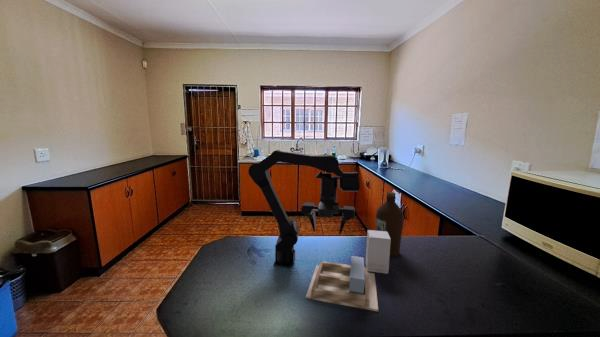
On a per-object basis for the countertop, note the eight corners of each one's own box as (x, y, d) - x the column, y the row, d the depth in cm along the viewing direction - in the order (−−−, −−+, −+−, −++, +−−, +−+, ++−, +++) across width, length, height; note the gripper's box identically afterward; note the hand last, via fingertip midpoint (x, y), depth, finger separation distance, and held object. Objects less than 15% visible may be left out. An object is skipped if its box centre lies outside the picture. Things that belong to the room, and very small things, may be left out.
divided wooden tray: (305, 298, 69) (306, 289, 69) (316, 266, 87) (316, 259, 86) (378, 311, 65) (378, 302, 64) (374, 275, 82) (374, 267, 82)
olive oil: (390, 245, 106) (394, 189, 103) (406, 256, 95) (411, 195, 92) (368, 247, 103) (372, 190, 100) (382, 259, 93) (387, 196, 90)
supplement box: (388, 274, 83) (391, 239, 81) (366, 271, 84) (368, 237, 83) (385, 263, 90) (387, 231, 88) (365, 261, 91) (367, 229, 90)
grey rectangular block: (348, 298, 69) (349, 277, 68) (350, 274, 81) (351, 255, 80) (363, 301, 68) (364, 279, 67) (362, 275, 80) (363, 257, 80)
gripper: (297, 193, 79) (296, 238, 81) (355, 198, 75) (352, 245, 77) (304, 187, 90) (303, 227, 92) (355, 190, 86) (353, 232, 88)
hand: (327, 232), depth 87 cm, fingers open, 9 cm apart
